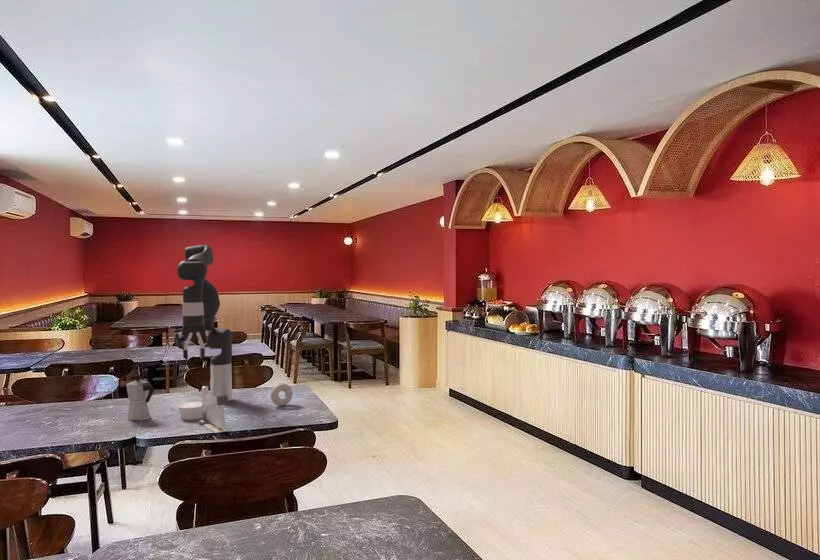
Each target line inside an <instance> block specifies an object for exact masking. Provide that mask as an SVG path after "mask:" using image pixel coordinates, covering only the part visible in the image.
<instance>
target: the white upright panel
mask: <svg viewBox="0 0 820 560" xmlns="http://www.w3.org/2000/svg"><path fill="white" fill-rule="evenodd" d="M201 402H202V418H201V419H202V420H209V421H210V422H212V423H214V424H215V425H217V426H219V427H220V428H224V429H226V428H225V425H226V422H225V421H226V420H225V419H226V418H225V406H226V405H228V403H229V401H228V396H226V395H223V396H217V397H215V396H213V395H211V394H210V393H209V385H202V387H201Z"/></svg>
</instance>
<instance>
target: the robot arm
mask: <svg viewBox="0 0 820 560" xmlns="http://www.w3.org/2000/svg"><path fill="white" fill-rule="evenodd" d="M184 258H185V260H182V261H180V262H179V263H178V265H177V268H176V273H177V276H178V278H179V279H181V281H182V280H183V281H192V284H193V285H189V286H185V287H184V288H183V289H182V312H181V313H182V330H181V331H179V332H174V333H173V335H174V339H175V342H176V346H177V348H178V349H180V350H182V357H183V359H184V360H185V361H187V360H188V359H189V357H188V351H189V350H188V347H189V345H190V343H191V342H194V341H196V342H198V344H199V346H200V348H199V357H200V359H201V360H202V359H204V358H205V356H206V352H205V351H206V348H208V349H212V350H220V351H221V352H220V353H219V354H217V355H214V356H212V357H210V362H209V364H210V380H209V387H210V389H209V391H210V392H209V394H211V395H213V396H215V397H217V396H223V395H226V396H228V402H230V401H232V400H233V387H232V386H233V385H232V384H233V383H232V382H233V380H232V379H233V378H232V375H233V374H232V358H233V357H232V356H233V334H232V333H233V332H232V331H231V330H230V328H215V325H214V320H215V318H216V315H217V313H218V312H219V309H220V306H221V302H220V296H219V293H218V289H217V288H216V287H215V286H214V285H213V283H211V282H210V281H208V280H207V279H206V277H207V274H208V266H210V265H212V264H213V262H214V253H213V250H212V247H211V246H210V245H208V244H199V245H193V246H191V245H190V246H187V247H185V248H184ZM182 336H183V337H184V338H185V340H184V343H183V344H182V342H181V338H182ZM203 336H204V337H205V342H204V341H203V339H202V338H203Z"/></svg>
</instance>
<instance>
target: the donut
mask: <svg viewBox="0 0 820 560" xmlns="http://www.w3.org/2000/svg"><path fill="white" fill-rule="evenodd" d="M281 392H284V396H283V397H280V393H281ZM293 394H294V393H293V389H292V387H291V386H290V385H289V384H287V383H278V384H276V385H275V386H274V387H273V388H272V390H271V392H270V398H271V401H272V403H273V404H274V405H275V406H278V407H280V406H281V407H284V406H286V405H288V404H289V403H290V402H291V401H292V399H293Z"/></svg>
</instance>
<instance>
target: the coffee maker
mask: <svg viewBox="0 0 820 560" xmlns="http://www.w3.org/2000/svg"><path fill="white" fill-rule="evenodd" d="M141 376H142V375H141V374H134V381H131V382H129V383H126V384H125V385H126V391H127V396H128V400H129V407H128V412H127V413H128V414H127V420H128V419H129V420H128V421H130V420H138V421H142V420H141V419H144V418H148V417H149V416H150V409H149V404H148V403H149V402H150V401H151V398H152V397H153V396H152V395H153V393H154V391H155V389H154V387H153V385H152V384H151V383H150V382H149V381H148V380H147V381H146V380H141ZM149 418H150V417H149ZM149 418H148V419H149ZM144 420H145V419H144Z"/></svg>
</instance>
